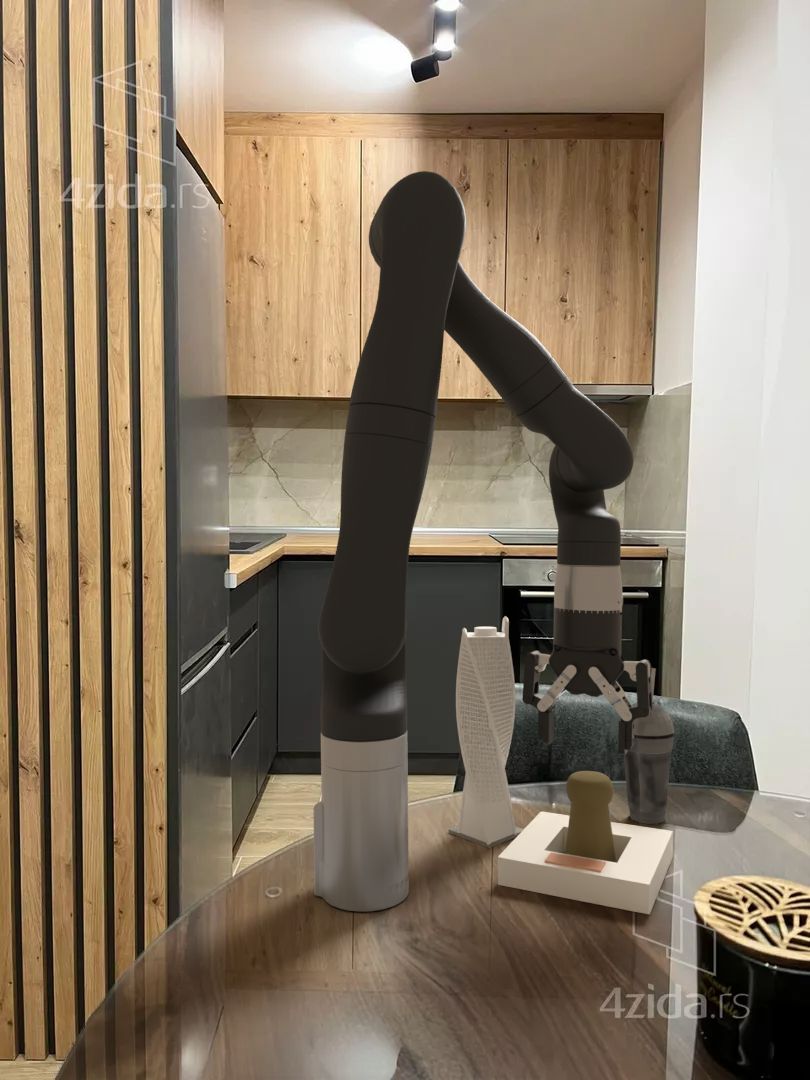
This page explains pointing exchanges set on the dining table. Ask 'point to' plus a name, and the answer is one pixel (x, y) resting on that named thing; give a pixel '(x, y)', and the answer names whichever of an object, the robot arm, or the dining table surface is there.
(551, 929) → the dining table surface
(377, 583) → the robot arm
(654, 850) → the hole board
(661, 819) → the beverage cup
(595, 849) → the cork
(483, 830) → the skyscraper
